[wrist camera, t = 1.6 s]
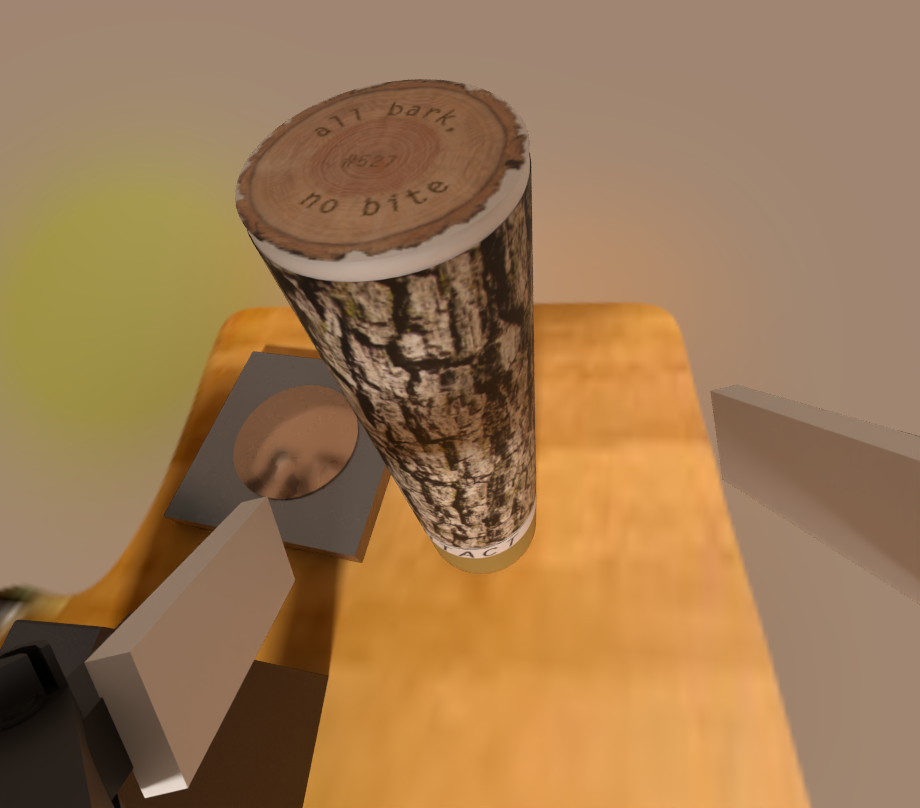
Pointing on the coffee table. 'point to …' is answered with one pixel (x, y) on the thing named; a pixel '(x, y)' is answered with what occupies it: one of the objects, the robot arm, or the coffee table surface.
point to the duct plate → (288, 460)
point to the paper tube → (416, 292)
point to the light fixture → (222, 729)
